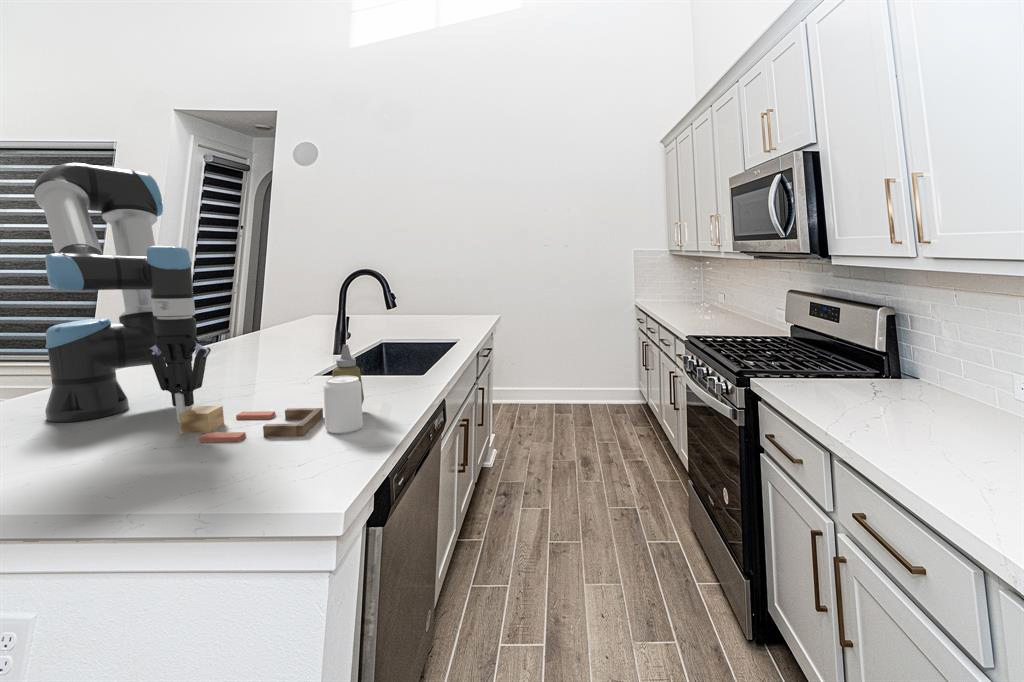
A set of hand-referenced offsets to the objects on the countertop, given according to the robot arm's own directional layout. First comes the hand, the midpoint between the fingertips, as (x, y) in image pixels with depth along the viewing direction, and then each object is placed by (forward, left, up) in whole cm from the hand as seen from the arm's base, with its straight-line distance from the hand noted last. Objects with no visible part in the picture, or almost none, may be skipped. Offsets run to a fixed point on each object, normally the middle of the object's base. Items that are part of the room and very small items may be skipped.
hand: (184, 419), depth 102 cm
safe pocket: (+21, +12, -2) cm, 24 cm away
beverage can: (+32, +17, -2) cm, 36 cm away
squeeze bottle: (+24, +26, -2) cm, 35 cm away
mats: (+10, +6, -2) cm, 12 cm away
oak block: (+3, +2, -2) cm, 4 cm away
